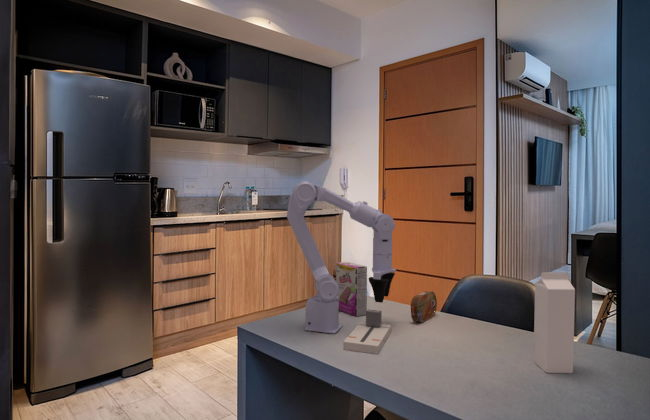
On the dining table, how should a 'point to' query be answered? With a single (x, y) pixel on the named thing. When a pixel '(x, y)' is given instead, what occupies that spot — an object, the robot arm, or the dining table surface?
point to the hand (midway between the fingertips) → (381, 299)
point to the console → (367, 338)
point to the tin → (423, 306)
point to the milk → (554, 323)
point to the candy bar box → (352, 288)
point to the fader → (373, 318)
